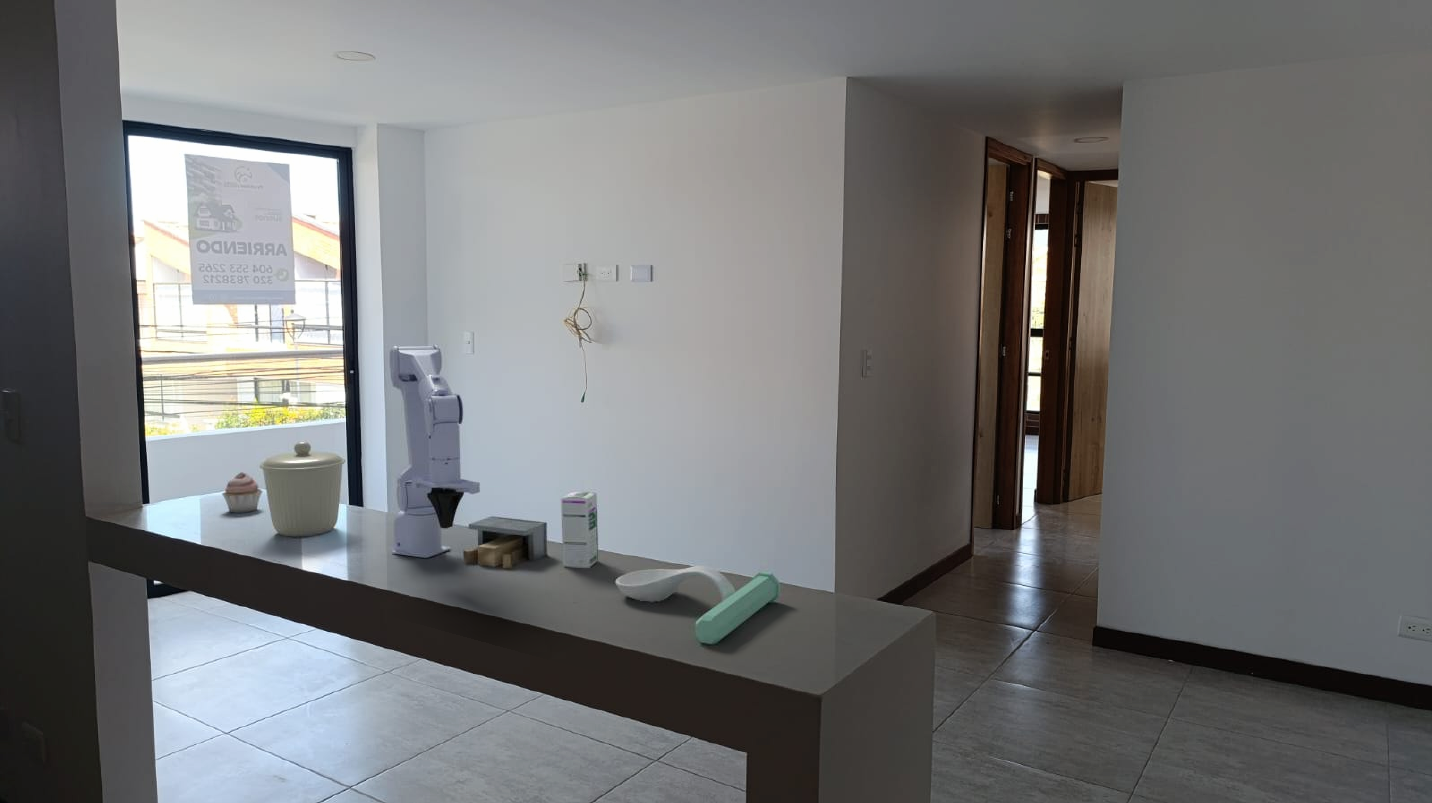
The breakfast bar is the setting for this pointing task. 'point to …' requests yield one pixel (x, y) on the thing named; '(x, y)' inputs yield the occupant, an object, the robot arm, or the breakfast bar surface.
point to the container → (737, 608)
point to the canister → (303, 490)
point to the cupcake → (242, 494)
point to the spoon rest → (668, 582)
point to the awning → (501, 527)
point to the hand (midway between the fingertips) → (446, 527)
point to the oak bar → (497, 550)
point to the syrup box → (579, 529)
